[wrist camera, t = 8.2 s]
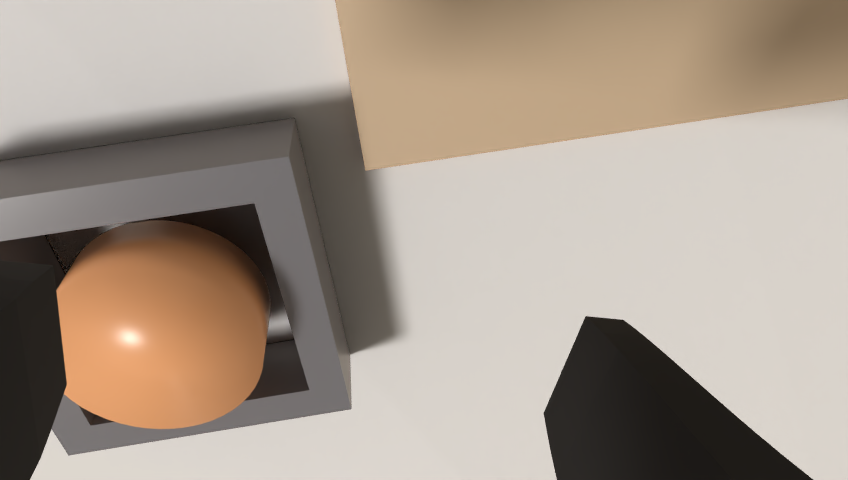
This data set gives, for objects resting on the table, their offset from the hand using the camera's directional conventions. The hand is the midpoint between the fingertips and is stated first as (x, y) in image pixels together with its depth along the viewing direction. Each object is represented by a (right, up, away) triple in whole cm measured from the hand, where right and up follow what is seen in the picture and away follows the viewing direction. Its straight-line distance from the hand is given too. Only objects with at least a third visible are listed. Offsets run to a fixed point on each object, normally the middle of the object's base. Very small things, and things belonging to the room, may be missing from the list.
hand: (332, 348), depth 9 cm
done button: (-5, 0, +8) cm, 9 cm away
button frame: (-5, +1, +9) cm, 10 cm away
